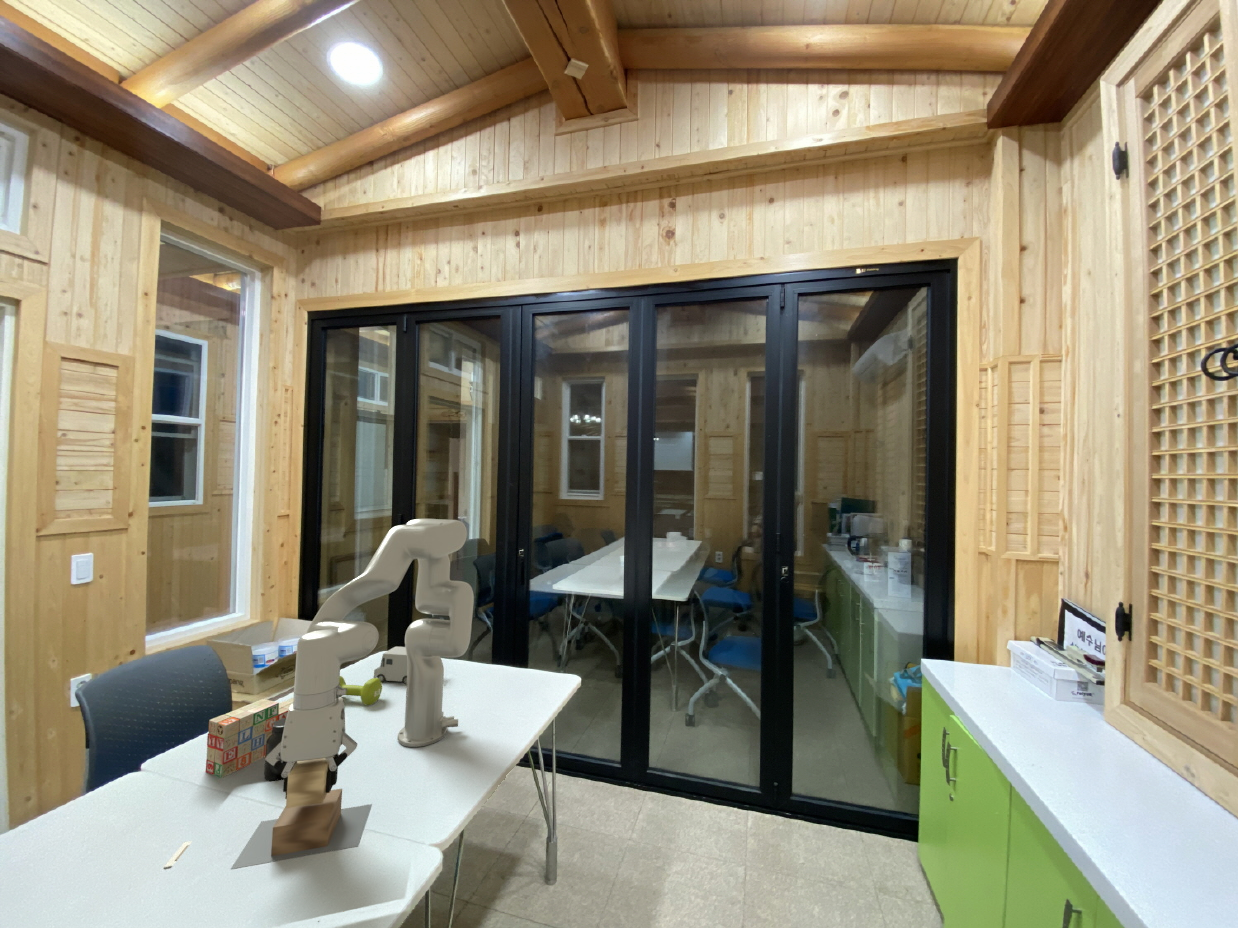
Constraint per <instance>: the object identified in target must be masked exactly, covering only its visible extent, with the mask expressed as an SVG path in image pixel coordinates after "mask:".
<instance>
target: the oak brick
mask: <svg viewBox="0 0 1238 928" xmlns="http://www.w3.org/2000/svg"><path fill="white" fill-rule="evenodd" d="M328 770H329V766H328V764H327V761H326V759H325V758H320V759H312V760H304V761H297V762H296V764H295V765H294V767H293V768H292V770H291V772H290V773H289V775H288V784H287V799H285V800H286V801H285V806H286V808H292V807H299V806H305V805H312V804H319V803H323V801H324V799H325V797H326V795H327V793H326V777H327V772H328Z"/></svg>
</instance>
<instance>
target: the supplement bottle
mask: <svg viewBox="0 0 1238 928" xmlns="http://www.w3.org/2000/svg"><path fill="white" fill-rule="evenodd" d="M285 721H286V718H283V719H280V720H278V721H276V722H274V723H273V726H272V734H271V735H270V736H269V738H268V739H267V741H266V752H265V757H264V769H263V778H264V780H265V781H267V782H270V783H271V782H279V781H284V778H283V777H282V776H281V773H280V772H279V771H278V770H276V769H275V768H274V766H273V765H271V764H270V763H269V762H267V761H266V759H265V758H266V757H267V755H268V754H269V753H270V752H271V751H272V750H273V749H274V748H275V747H276V746H277V745H278V744H279V743H280V742H281V741H282V736H283V731H284V726H285ZM279 756H280V753H279ZM296 762H297V761H296ZM295 764H296V763H295Z"/></svg>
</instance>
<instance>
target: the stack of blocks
mask: <svg viewBox="0 0 1238 928" xmlns="http://www.w3.org/2000/svg"><path fill="white" fill-rule="evenodd" d="M293 698H294V697H291V698H289V699H287V700H284V701H281V702H278V701H274V700H268V699H265V698H262V699H260V700H257V701H254V702H251V703H249V704H247V705H244V706H241V707H239V708H237V709H235V710H231V711H230V712H227V713H225V714H221V715H218V716H216V717H213V718H211V719H209V721H208V733H207V736H206V738H207V739H206V740H207V741H206V761H205V762H206V763H205V772H206V773H208V774H211V775H214V776H216V777H219V778H221V779H222V778H224V777H227V776H228V775H230V774H233V773H234V772H237V771H239V770H241V769H243V768H245V767H248V766H250V765H252V764H253V763H255V762H257V761H259V760H262V759H263V758H265V752H266V741H267V739H268V738H269V736H270V735H271V734H272V726H273V723H274V722H276V721H278V720H280V719H283V718H286V717H287V714H288V710H289V707H290V706H291V704H293Z"/></svg>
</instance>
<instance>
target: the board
mask: <svg viewBox="0 0 1238 928" xmlns="http://www.w3.org/2000/svg"><path fill="white" fill-rule="evenodd" d="M372 807H373V804H372V803H371V804H366V805H365V804H364V805H358V806H351V807H346V808H345V807H344V808H341V814H340V817H339V819H338V822H337V824H336V826H335V829H334V831H333V834H332V836H331V838H330V841H329V843H328V846H325V847H320V848H314V849H308V850H303V851H297V852H291V853H286V854H280V855H274V856H271V848H272V833H273V826H274V825H275V823H276V821H277V820H278V818H275V819H270V820H261V821H260V823H259V824H258V826H257V828H256V829H255V830H254V832H253V834H252V835H251V837H250V838H249V839H248V841H247V843H246V844H245V845H244V848H243V849H242V851H241V852H240V853H239V856H238V857H237V859H235V862H234V863H233V864H232V866H231V868H230V870H235V869H241V868H246V867H252V866H258V865H263V864H268V863H273V862H280V861H285V860H290V859H297V858H302V857H307V856H312V855H319V854H324V853H329V852H334V851H341V850H347V849H352V848H358V847H359V844H360V842H361V839H362V835H363V833H364V829H365V826H366V823H367V820H368V818H369V815H370V811H371V808H372Z"/></svg>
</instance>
